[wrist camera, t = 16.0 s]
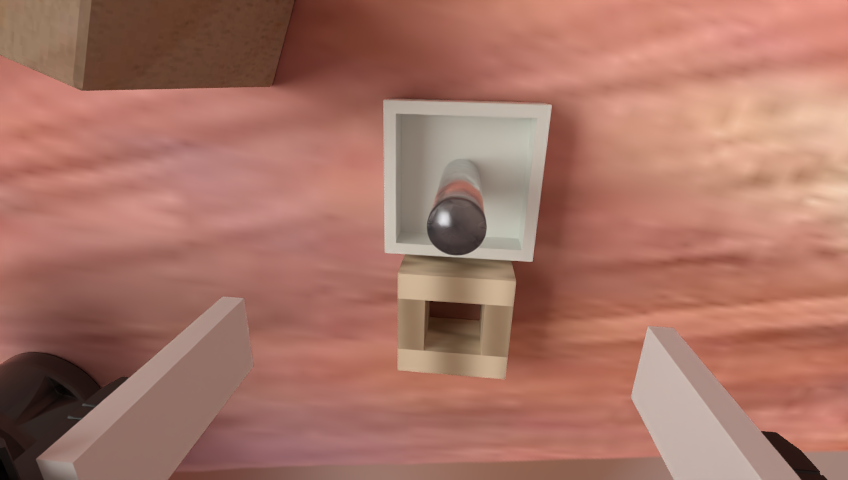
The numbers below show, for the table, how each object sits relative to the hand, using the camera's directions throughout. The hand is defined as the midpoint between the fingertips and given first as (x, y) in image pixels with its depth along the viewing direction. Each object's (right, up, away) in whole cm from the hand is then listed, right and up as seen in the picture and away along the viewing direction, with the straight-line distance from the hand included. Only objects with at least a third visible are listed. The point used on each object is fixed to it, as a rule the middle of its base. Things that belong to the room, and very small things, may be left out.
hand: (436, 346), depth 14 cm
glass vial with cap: (+3, +9, +24) cm, 26 cm away
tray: (+3, +9, +25) cm, 27 cm away
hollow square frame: (+3, -2, +29) cm, 29 cm away
